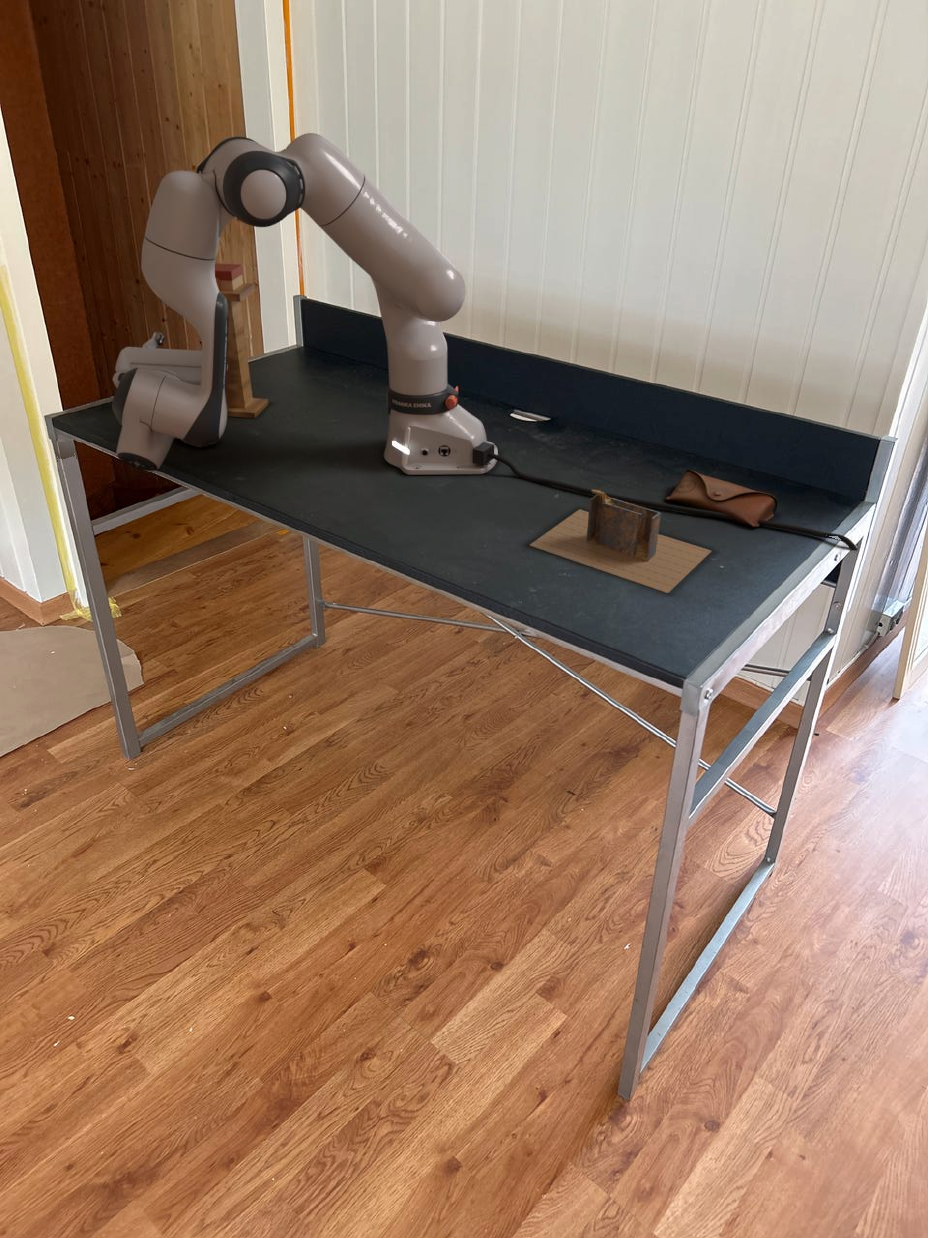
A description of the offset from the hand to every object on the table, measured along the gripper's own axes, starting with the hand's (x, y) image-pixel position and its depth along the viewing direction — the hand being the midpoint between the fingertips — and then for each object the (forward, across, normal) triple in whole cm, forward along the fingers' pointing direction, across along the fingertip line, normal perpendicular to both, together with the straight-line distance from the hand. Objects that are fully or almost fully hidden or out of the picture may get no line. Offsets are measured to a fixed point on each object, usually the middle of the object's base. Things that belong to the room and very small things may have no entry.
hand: (183, 335), depth 174 cm
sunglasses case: (-21, -102, +14) cm, 105 cm away
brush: (+15, 0, +4) cm, 16 cm away
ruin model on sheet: (-36, -85, +5) cm, 92 cm away
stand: (+6, 0, +29) cm, 29 cm away
